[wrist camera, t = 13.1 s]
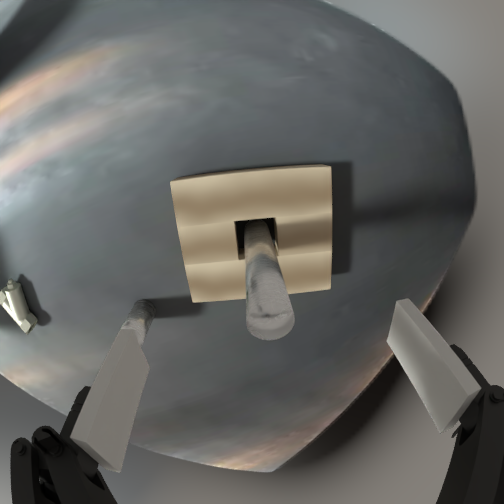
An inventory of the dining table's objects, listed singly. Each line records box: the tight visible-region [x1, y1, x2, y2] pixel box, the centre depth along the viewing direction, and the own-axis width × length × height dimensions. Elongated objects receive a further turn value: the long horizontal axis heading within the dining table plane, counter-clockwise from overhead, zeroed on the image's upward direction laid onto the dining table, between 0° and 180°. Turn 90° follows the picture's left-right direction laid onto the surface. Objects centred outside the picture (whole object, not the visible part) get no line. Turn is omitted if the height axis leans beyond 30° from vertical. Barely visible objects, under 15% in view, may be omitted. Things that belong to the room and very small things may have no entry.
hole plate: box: [170, 164, 332, 303], centre depth 28 cm, size 13×15×3 cm
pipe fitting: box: [0, 279, 38, 334], centre depth 30 cm, size 8×4×7 cm
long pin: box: [244, 219, 295, 340], centre depth 22 cm, size 3×3×16 cm
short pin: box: [121, 300, 156, 347], centre depth 30 cm, size 3×3×6 cm
